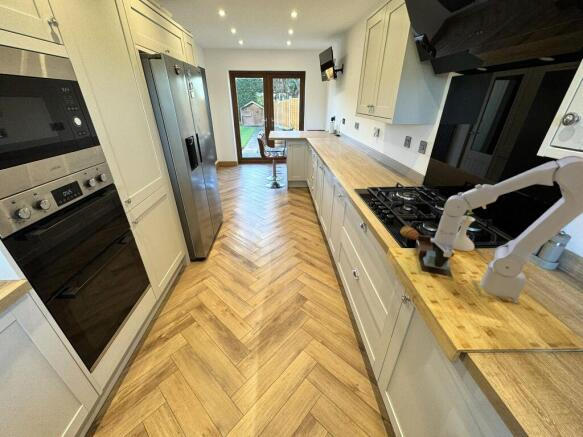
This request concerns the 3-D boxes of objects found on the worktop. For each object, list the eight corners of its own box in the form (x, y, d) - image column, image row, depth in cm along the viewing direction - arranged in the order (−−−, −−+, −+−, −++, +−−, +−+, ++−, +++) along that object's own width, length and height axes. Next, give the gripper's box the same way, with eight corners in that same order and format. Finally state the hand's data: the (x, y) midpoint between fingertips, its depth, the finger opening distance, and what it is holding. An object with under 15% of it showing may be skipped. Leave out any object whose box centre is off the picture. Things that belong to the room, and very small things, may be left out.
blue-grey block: (447, 263, 87) (450, 253, 85) (449, 270, 83) (453, 259, 81) (423, 259, 89) (426, 249, 87) (424, 265, 86) (427, 255, 84)
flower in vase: (468, 257, 94) (492, 199, 83) (437, 245, 102) (456, 191, 91) (477, 246, 102) (500, 191, 91) (448, 235, 110) (466, 184, 99)
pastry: (424, 241, 106) (426, 233, 104) (412, 243, 104) (414, 236, 102) (408, 231, 114) (410, 224, 112) (397, 233, 112) (398, 226, 110)
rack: (440, 252, 98) (445, 239, 95) (452, 279, 82) (457, 265, 80) (414, 247, 101) (418, 234, 98) (420, 273, 85) (425, 259, 82)
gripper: (430, 219, 87) (421, 250, 93) (438, 238, 75) (427, 272, 81) (452, 222, 85) (441, 253, 91) (464, 242, 73) (451, 276, 79)
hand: (436, 262), depth 86 cm, fingers closed on blue-grey block, 4 cm apart
